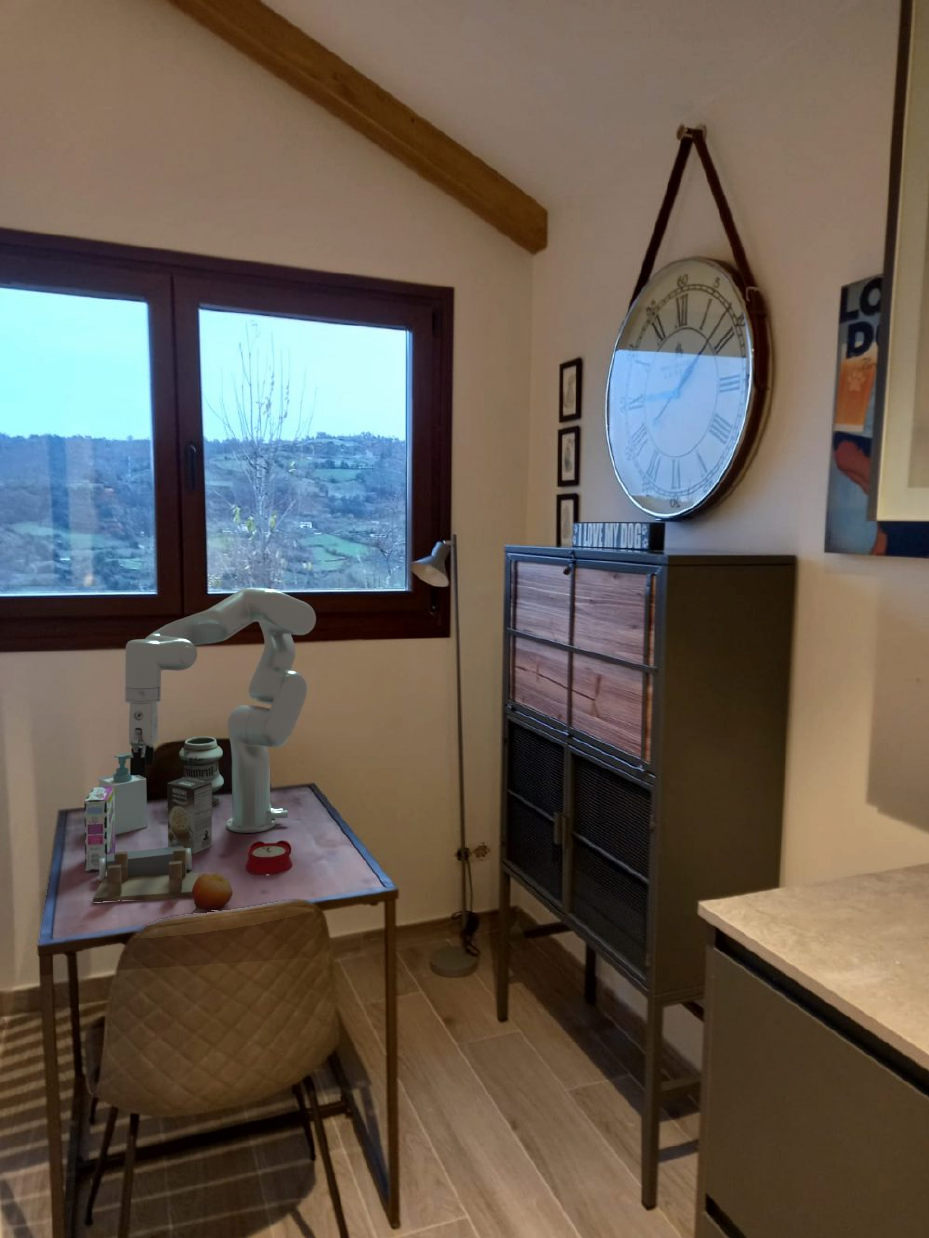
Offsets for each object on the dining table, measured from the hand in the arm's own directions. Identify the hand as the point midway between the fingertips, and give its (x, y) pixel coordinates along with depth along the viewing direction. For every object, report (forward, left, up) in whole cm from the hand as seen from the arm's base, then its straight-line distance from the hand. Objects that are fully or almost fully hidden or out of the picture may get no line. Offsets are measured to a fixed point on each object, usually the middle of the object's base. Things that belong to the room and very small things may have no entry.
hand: (142, 769), depth 194 cm
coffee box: (-9, -10, -23) cm, 26 cm away
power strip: (-1, +6, -23) cm, 23 cm away
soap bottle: (+9, -27, -23) cm, 37 cm away
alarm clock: (-28, +4, -23) cm, 36 cm away
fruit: (-17, +26, -23) cm, 38 cm away
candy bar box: (+10, -3, -23) cm, 25 cm away
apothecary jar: (-9, -45, -23) cm, 51 cm away
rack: (-3, +15, -22) cm, 27 cm away
